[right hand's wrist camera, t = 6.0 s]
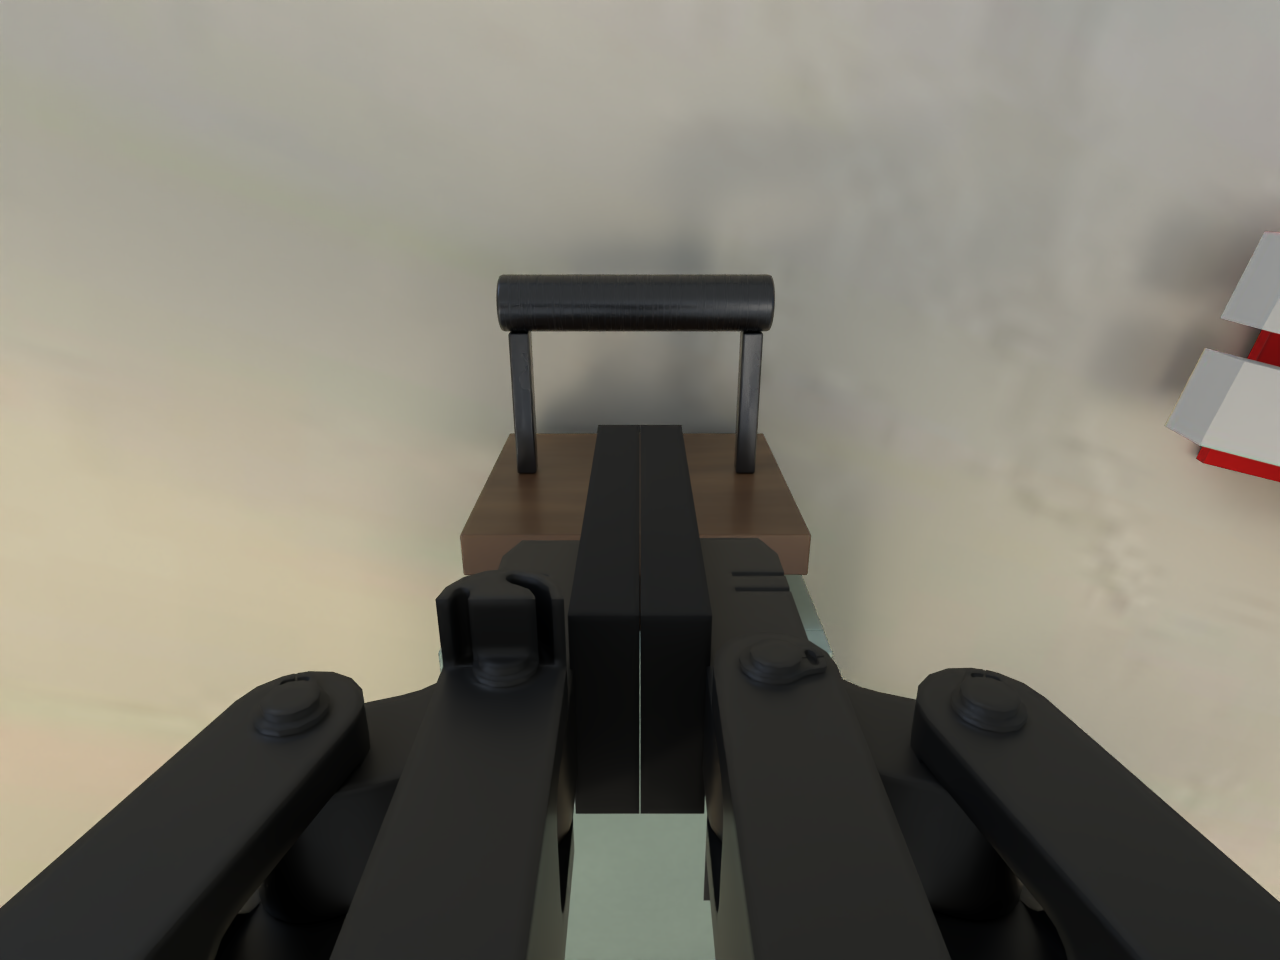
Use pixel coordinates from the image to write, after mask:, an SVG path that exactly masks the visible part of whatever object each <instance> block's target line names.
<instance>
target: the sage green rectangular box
mask: <svg viewBox="0 0 1280 960" xmlns="http://www.w3.org/2000/svg"><path fill="white" fill-rule="evenodd" d="M784 576H786V579H787V582H788V584H789V587H790V591H791V593H792V595H793V598H794V601H795V604H796V607H797V609H798V612H799V615H800V618H801V621H802V623H803V626H804V629H805V632H806V635H807V637H808V640H809V641H811V642H812V643H814V644H815V645H817V646H819V647H820V648H822V649H823V650H825V651H826V652H827V653H828V654H829V655H830V657H831V658H832V655H833V653H832V650H831V647H830V645H829V643H828V640H827V638H826V635H825V633H824V630H823V627H822V625H821V622H820V620H819V617H818V615H817V612H816V610H815V607H814V605H813V602H812V600H811V597H810V595H809V592H808V590H807V587H806V585H805V582H804V580H803V577H802V575H784ZM439 662H440V671H442V668H443V660H442V652H441V648H440V651H439ZM573 828H574V862H573V873H572V884H571V895H570V906H569V917H568V928H567V939H566V950H565V960H715V949H714V938H713V927H712V916H711V905H710V901H703V899H704V876H705V852H706V828H707V809H706V799H705V809H704V814H641V790H640V793H639V814H576V809H575V803H574V813H573Z"/></svg>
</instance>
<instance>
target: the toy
mask: <svg viewBox="0 0 1280 960" xmlns="http://www.w3.org/2000/svg"><path fill="white" fill-rule="evenodd" d="M1220 318H1221V319H1225V320H1229V321H1232V322H1236V323H1240V324H1244V325H1247V326H1251V327H1255V328H1258V329H1262V330H1261V332H1260V334H1259V336H1258V338H1257V340H1256V342H1255V344H1254V346H1253V348H1252V350H1251V352H1250V354H1249V356H1248V358H1243V357H1239V356H1235V355H1231V354H1227V353H1223V352H1219V351H1215V350H1211V349H1207V348H1204V350H1203V352H1202V354H1201V356H1200V358H1199V360H1198V362H1197V364H1196V366H1195V368H1194V370H1193V372H1192V374H1191V376H1190V378H1189V380H1188V382H1187V383H1186V385H1185V387H1184V389H1183V391H1182V393H1181V395H1180V397H1179V399H1178V401H1177V403H1176V405H1175V407H1174V409H1173V411H1172V413H1171V415H1170V416H1169V418H1168V420H1167V422H1166V424H1165V426H1166V427H1168V428H1169V429H1171V430H1173V431H1175V432H1176V433H1178V434H1180V435H1182V436H1183V437H1185V438H1187V439H1189V440H1191V441H1192V442H1194V443H1196V444H1198V445H1199V446H1202V448H1201V450H1200V452H1199V454H1198V456H1197V458H1196V459H1198V460H1199V461H1201V462H1202V463H1205V464H1209V465H1213V466H1217V467H1221V468H1225V469H1229V470H1233V471H1238V472H1242V473H1246V474H1250V475H1254V476H1258V477H1262V478H1266V479H1270V480H1274V481H1278V482H1280V232H1270V231H1265V232H1264V234H1263V236H1262V238H1261V240H1260V242H1259V244H1258V246H1257V247H1256V249H1255V251H1254V253H1253V255H1252V257H1251V259H1250V261H1249V263H1248V265H1247V267H1246V269H1245V271H1244V273H1243V275H1242V277H1241V279H1240V280H1239V282H1238V284H1237V286H1236V288H1235V290H1234V292H1233V294H1232V296H1231V298H1230V300H1229V302H1228V304H1227V306H1226V308H1225V310H1224V312H1223V314H1222V315H1221V317H1220Z"/></svg>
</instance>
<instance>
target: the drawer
mask: <svg viewBox="0 0 1280 960" xmlns="http://www.w3.org/2000/svg"><path fill="white" fill-rule="evenodd" d="M496 301H497V315H498V321H499V325H500V327H501V329H502V330H503V331H510V333H509V350H510V366H511V382H512V398H513V413H514V429H515V434H510V435H509V437H508V439H507V441H506V443H505V445H504V447H503V449H502V451H501V453H500V455H499V457H498V459H497V461H496V463H495V465H494V467H493V469H492V471H491V473H490V475H489V478H488V480H487V482H486V484H485V486H484V488H483V490H482V492H481V494H480V496H479V498H478V500H477V502H476V504H475V506H474V508H473V510H472V512H471V514H470V516H469V518H468V520H467V522H466V525H465V527H464V529H463V531H462V533H461V535H460V540H461V550H462V561H463V571H464V575H473V574H477V573H480V572H484V571H489V570H498V568H499V565H500V562H501V559H502V557H503V556H504V555H505V554H506V553H507V552H508V551H510V550H511V549H512V548H513V547H515V546H516V545H517V544H518V543H519V542H521V541H522V540H580V537H581V530H582V524H583V518H584V512H585V506H586V500H587V493H588V487H589V481H590V475H591V469H592V463H593V456H594V450H595V444H596V438H597V434H536V415H535V396H534V376H533V357H532V338H531V331H741V332H740V352H739V373H738V394H737V415H736V434H683V438H684V444H685V450H686V456H687V463H688V469H689V475H690V481H691V487H692V493H693V500H694V506H695V512H696V518H697V524H698V530H699V537H700V538H759V539H760V540H761V541H763V542H764V543H765V544H766V545H767V546H769V547H770V548H771V549H772V550H774V551H775V552H776V553H777V554H778V556H779V559H780V562H781V565H782V568H783V570H784V575H807V573H808V562H809V551H810V540H811V535H810V532H809V530H808V528H807V526H806V524H805V522H804V520H803V518H802V515H801V513H800V511H799V509H798V507H797V505H796V503H795V501H794V498H793V496H792V494H791V492H790V490H789V488H788V486H787V484H786V481H785V479H784V477H783V475H782V473H781V471H780V469H779V467H778V464H777V462H776V460H775V458H774V456H773V454H772V452H771V450H770V448H769V445H768V443H767V441H766V439H765V437H764V435H763V434H757V428H758V411H759V394H760V377H761V360H762V343H763V333H762V332H761V331H768V330H770V328H771V326H772V322H773V317H774V307H775V289H774V282H773V278H772V276H771V275H501V276H500V277H499V279H498V283H497V294H496Z"/></svg>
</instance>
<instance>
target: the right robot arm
mask: <svg viewBox="0 0 1280 960" xmlns="http://www.w3.org/2000/svg"><path fill="white" fill-rule="evenodd" d="M436 607H437V616H438V625H439V634H440V643H441V652H442V660H443V668H442V671H441V674H440V676H439V679H438V681H437V683H436V684H433V685H431V686H429V687H427V688H424V689H422V690H419V691H415V692H412V693H408V694H405V695H401V696H396V697H391V698H386V699H382V700H377V701H372V702H367V703H364V698H363V692H362V689H361V688H360V687H359V686H358V685H357V683H356V682H355V681H354V680H353V679H352V678H350V677H347V676H344V675H341V674H338V673H335V672H315V671H308V672H303V673H298V674H291V675H287V676H283V677H280V678H278V679H275V680H273V681H270V682H268V683H265V684H263V685H260V686H258V687H256V688H255V689H253V690H252V691H250V692H249V693H247V694H246V695H244V696H243V697H241V698H240V699H238V700H237V701H235V702H234V703H233V704H232V705H231V706H230V707H229V708H227V709H226V710H225V711H224V712H223V713H222V714H221V715H219V716H218V717H217V718H216V719H215V720H214V721H213V722H211V723H210V724H209V725H208V726H207V727H206V728H205V729H204V730H202V731H201V732H200V733H199V734H198V735H197V736H196V737H194V738H193V739H192V740H191V741H190V742H189V743H188V744H186V745H185V746H184V747H183V748H182V749H181V750H180V751H179V752H177V753H176V754H175V755H174V756H173V757H172V758H171V759H169V760H168V761H167V762H166V763H165V764H164V765H163V766H161V767H160V768H159V769H158V770H157V771H156V772H155V773H153V774H152V775H151V776H150V777H149V778H148V779H147V780H146V781H144V782H143V783H142V784H141V785H140V786H139V787H138V788H136V789H135V790H134V791H133V792H132V793H131V794H130V795H128V796H127V797H126V798H125V799H124V800H123V801H122V802H121V803H119V804H118V805H117V806H116V807H115V808H114V809H113V810H111V811H110V812H109V813H108V814H107V815H106V816H105V817H103V818H102V819H101V820H100V821H99V822H98V823H97V824H96V825H94V826H93V827H92V828H91V829H90V830H89V831H88V832H86V833H85V834H84V835H83V836H82V837H81V838H80V839H78V840H77V841H76V842H75V843H74V844H73V845H72V846H70V847H69V848H68V849H67V850H66V851H65V852H64V853H63V854H61V855H60V856H59V857H58V858H57V859H56V860H55V861H53V862H52V863H51V864H50V865H49V866H48V867H47V868H45V869H44V870H43V871H42V872H41V873H40V874H39V875H38V876H36V877H35V878H34V879H33V880H32V881H31V882H30V883H28V884H27V885H26V886H25V887H24V888H23V889H22V890H20V891H19V892H18V893H17V894H16V895H15V896H14V897H13V898H11V899H10V900H9V901H8V902H7V903H6V904H5V905H3V906H2V907H1V908H0V960H565V950H566V939H567V928H568V917H569V906H570V895H571V884H572V873H573V862H574V828H573V813H574V803H575V809H576V814H639V793H640V790H641V814H704V809H705V799H706V809H707V828H706V852H705V876H704V899H703V901H710V905H711V916H712V927H713V938H714V949H715V960H1280V902H1279V901H1278V900H1277V899H1275V898H1274V897H1273V896H1272V895H1271V894H1270V893H1269V892H1267V891H1266V890H1265V889H1264V888H1263V887H1262V886H1261V885H1259V884H1258V883H1257V882H1256V881H1255V880H1254V879H1253V878H1251V877H1250V876H1249V875H1248V874H1247V873H1246V872H1245V871H1243V870H1242V869H1241V868H1240V867H1239V866H1238V865H1237V864H1235V863H1234V862H1233V861H1232V860H1231V859H1230V858H1228V857H1227V856H1226V855H1225V854H1224V853H1223V852H1222V851H1220V850H1219V849H1218V848H1217V847H1216V846H1215V845H1214V844H1212V843H1211V842H1210V841H1209V840H1208V839H1207V838H1206V837H1204V836H1203V835H1202V834H1201V833H1200V832H1199V831H1198V830H1196V829H1195V828H1194V827H1193V826H1192V825H1191V824H1190V823H1188V822H1187V821H1186V820H1185V819H1184V818H1183V817H1181V816H1180V815H1179V814H1178V813H1177V812H1176V811H1175V810H1173V809H1172V808H1171V807H1170V806H1169V805H1168V804H1167V803H1165V802H1164V801H1163V800H1162V799H1161V798H1160V797H1159V796H1157V795H1156V794H1155V793H1154V792H1153V791H1152V790H1151V789H1149V788H1148V787H1147V786H1146V785H1145V784H1144V783H1142V782H1141V781H1140V780H1139V779H1138V778H1137V777H1136V776H1134V775H1133V774H1132V773H1131V772H1130V771H1129V770H1128V769H1126V768H1125V767H1124V766H1123V765H1122V764H1121V763H1120V762H1118V761H1117V760H1116V759H1115V758H1114V757H1113V756H1112V755H1110V754H1109V753H1108V752H1107V751H1106V750H1105V749H1104V748H1102V747H1101V746H1100V745H1099V744H1098V743H1097V742H1095V741H1094V740H1093V739H1092V738H1091V737H1090V736H1089V735H1087V734H1086V733H1085V732H1084V731H1083V730H1082V729H1081V728H1079V727H1078V726H1077V725H1076V724H1075V723H1074V722H1073V721H1071V720H1070V719H1069V718H1068V717H1067V716H1066V715H1065V714H1063V713H1062V712H1061V711H1060V710H1059V709H1058V708H1057V707H1055V706H1054V705H1053V704H1052V703H1051V702H1050V701H1048V700H1047V699H1046V698H1045V697H1044V696H1042V695H1041V694H1039V693H1038V692H1036V691H1035V690H1033V689H1032V688H1030V687H1029V686H1027V685H1026V684H1024V683H1022V682H1019V681H1017V680H1014V679H1012V678H1009V677H1007V676H1004V675H1002V674H999V673H996V672H992V671H988V670H986V671H985V670H983V669H975V668H948V669H945V670H942V671H939V672H936V673H933V674H929V675H928V676H927V677H926V678H925V679H924V681H923V682H922V683H921V684H920V685H919V686H918V692H917V698H916V700H915V699H910V698H905V697H900V696H895V695H890V694H886V693H881V692H877V691H873V690H869V689H866V688H862V687H859V686H857V685H854V684H852V683H850V682H847V681H845V680H843V679H842V678H841V675H840V672H839V670H838V667H837V665H836V664H835V662H834V661H833V660H832V658H831V657H830V655H829V654H828V653H827V652H826V651H825V650H823V649H822V648H820V647H819V646H817V645H815V644H814V643H812V642H811V641H809V640H808V637H807V635H806V632H805V629H804V626H803V623H802V621H801V618H800V615H799V612H798V609H797V607H796V604H795V601H794V598H793V595H792V593H791V591H790V587H789V584H788V582H787V579H786V576H784V570H783V568H782V565H781V562H780V559H779V556H778V554H777V553H776V552H775V551H774V550H772V549H771V548H770V547H769V546H767V545H766V544H765V543H764V542H763V541H761V540H760V539H759V538H700V537H699V530H698V524H697V518H696V512H695V506H694V500H693V493H692V487H691V481H690V475H689V469H688V463H687V456H686V450H685V444H684V438H683V432H682V426H681V425H599V426H598V432H597V438H596V444H595V450H594V456H593V463H592V469H591V475H590V481H589V487H588V493H587V500H586V506H585V512H584V518H583V524H582V530H581V537H580V540H522V541H521V542H519V543H518V544H517V545H516V546H515V547H513V548H512V549H511V550H510V551H508V552H507V553H506V554H505V555H504V556H503V557H502V559H501V562H500V565H499V568H498V570H489V571H484V572H480V573H477V574H473V575H470V576H466V577H463V578H461V579H460V580H458V581H456V582H454V583H453V584H451V585H449V586H447V587H446V588H445V589H444V590H443V591H442V593H441V594H440V595H439V596H438V597H437V598H436Z"/></svg>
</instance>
